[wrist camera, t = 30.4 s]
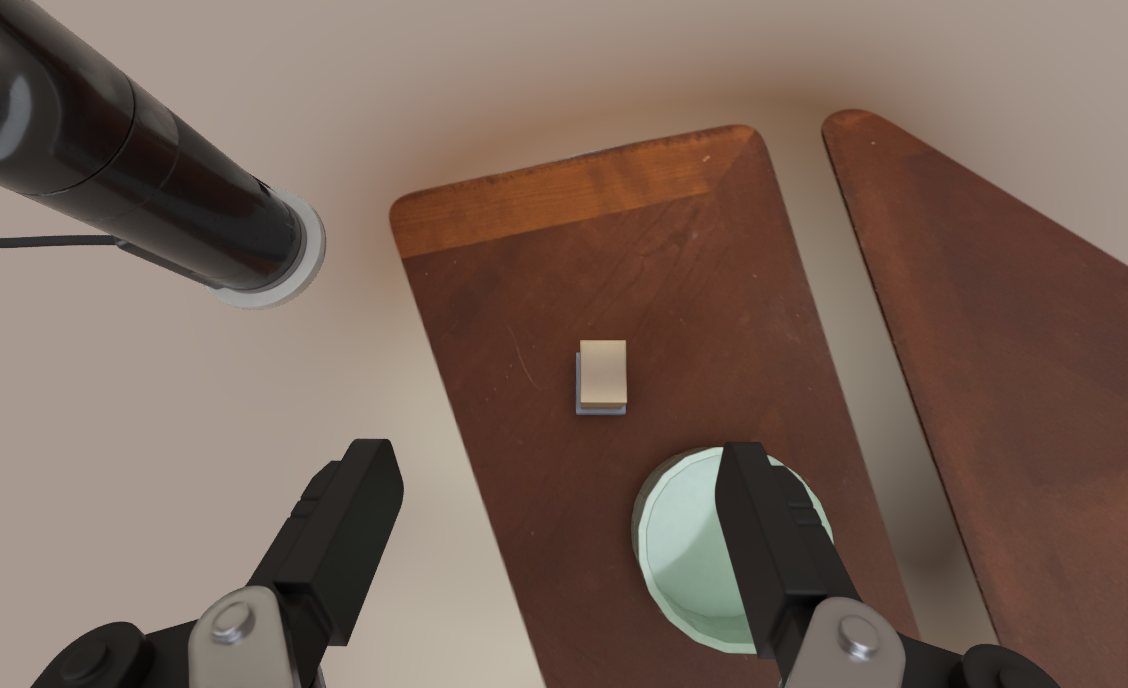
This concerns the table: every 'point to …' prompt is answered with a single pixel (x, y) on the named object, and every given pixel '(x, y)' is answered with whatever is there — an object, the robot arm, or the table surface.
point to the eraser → (601, 377)
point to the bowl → (693, 550)
